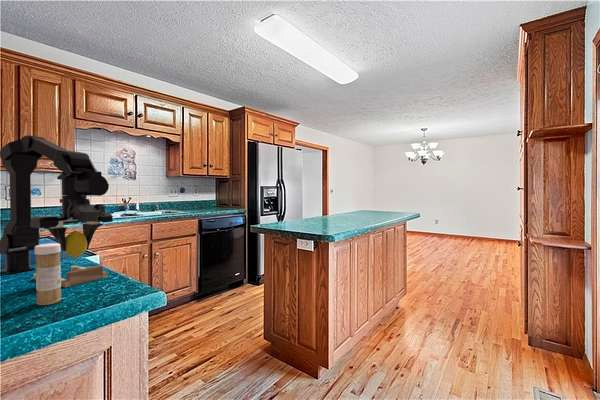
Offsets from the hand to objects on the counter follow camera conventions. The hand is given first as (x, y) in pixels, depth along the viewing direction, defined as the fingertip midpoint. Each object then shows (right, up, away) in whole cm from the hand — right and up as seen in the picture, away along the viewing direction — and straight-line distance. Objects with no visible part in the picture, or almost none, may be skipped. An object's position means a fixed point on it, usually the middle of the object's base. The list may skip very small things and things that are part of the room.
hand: (75, 249), depth 87 cm
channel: (-2, -9, +2) cm, 9 cm away
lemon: (0, -3, 0) cm, 3 cm away
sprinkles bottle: (+7, -10, -18) cm, 22 cm away
